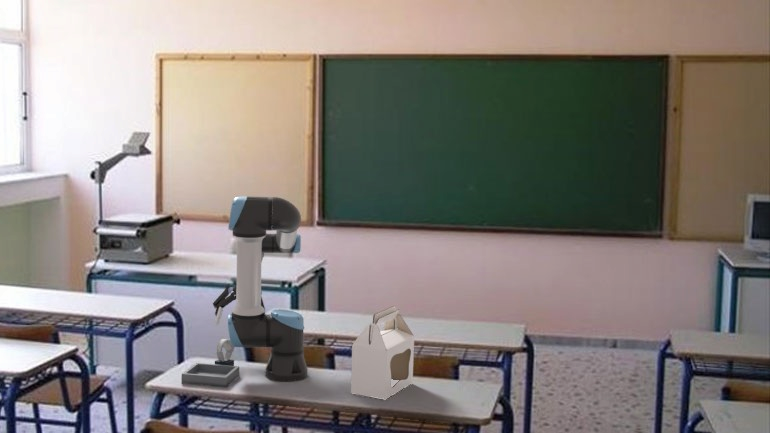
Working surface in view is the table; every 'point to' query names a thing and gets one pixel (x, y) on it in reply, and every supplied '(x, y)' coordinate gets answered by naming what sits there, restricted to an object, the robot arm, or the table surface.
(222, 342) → the watch
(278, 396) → the table surface
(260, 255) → the robot arm
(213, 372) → the tray
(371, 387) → the gable box
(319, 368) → the table surface
